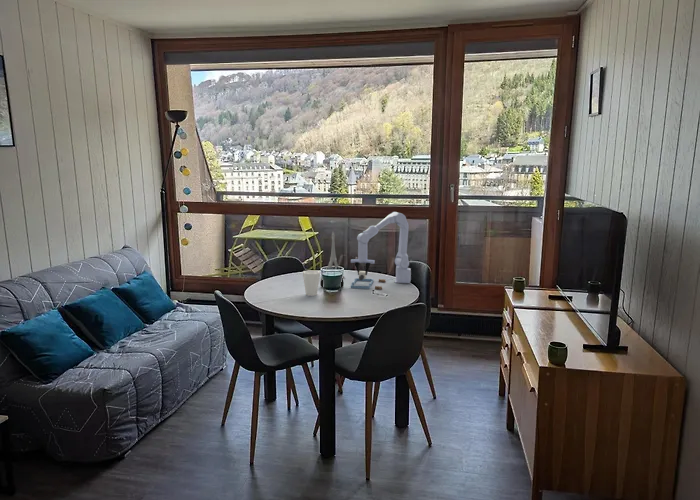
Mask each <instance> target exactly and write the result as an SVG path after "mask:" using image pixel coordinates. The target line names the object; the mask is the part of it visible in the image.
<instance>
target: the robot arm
mask: <svg viewBox="0 0 700 500" xmlns="http://www.w3.org/2000/svg"><path fill="white" fill-rule="evenodd" d="M389 224H396V225H397V226H398V227H399V238H398V249H397V251H398V252H397V253H396V256H395V258H394V264H395V280H394V283H395V284H396V283H399V284H411V280H412V276H411V275H412V270H411V269H412V268H410V267H409V266H410V261H409V255H408V253H407V252H408V243H409V242H408V240H409V229H410V228H409V227H410V225H409V222H408V220H407V217H406V215H405V214H404V213H401V212H397V211H392V212H391V213H389V214H388V215H387V216H386V217H385V218H383V219H382V220H381V221H379V222H378V223H377V224H376V225H370V226H368V228H367V229H366V230H362V232H361V233H359V234H358V235H357V237H356V240H357V248H358V249H357V258H356V259H354V258H352V259H350V263H351V264H353V263H354V266H355V269H356V273H357V275H358V276H359V271H361V270H360V269H361V268H360V267H361V266H360V265H361V264H365V271H366V273H365V274H366V276H368V271H369V269H370V267H371V264H372V265H374V264H376V263H375V261H376V260H375V259H368V246H369V245H368V243H369V241H370V240H371V239H372V238H373V237H375V236H376V235H377V234H378V233H379V230H381V229H382V228H384V227H385V226H388V225H389Z"/></svg>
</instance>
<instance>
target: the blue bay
mask: <svg viewBox="0 0 700 500" xmlns="http://www.w3.org/2000/svg"><path fill="white" fill-rule="evenodd" d="M374 281H375V280H374V278H366V279H363V280H359V277H357V278H354V280H353V281H352V282H351V285H350V289H364V290H367V289H368V290H371V289H370V288H371V287H372V285H373V283H374ZM357 282H369V283H368V285H355V284H356V283H357Z"/></svg>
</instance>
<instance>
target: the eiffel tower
mask: <svg viewBox="0 0 700 500" xmlns="http://www.w3.org/2000/svg"><path fill="white" fill-rule="evenodd" d="M335 237H336V235H335V231H332V232H331V252H330V253H331V254H330V257H329V262H328V265H327V267H339V265H338V261H337V255H336V246H335V245H336V244H335V239H336V238H335ZM333 264H334V265H333ZM344 278H345V276H344V275H343V280H345V279H344Z"/></svg>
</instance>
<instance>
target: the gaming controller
mask: <svg viewBox="0 0 700 500" xmlns="http://www.w3.org/2000/svg"><path fill="white" fill-rule="evenodd" d="M320 278H321V279H320V281H319V282H320V287H321V288H324V287H323V280H322V277H320ZM344 285H345V283H344V279H343V278H342V282H341V287H342V288H344Z"/></svg>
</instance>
